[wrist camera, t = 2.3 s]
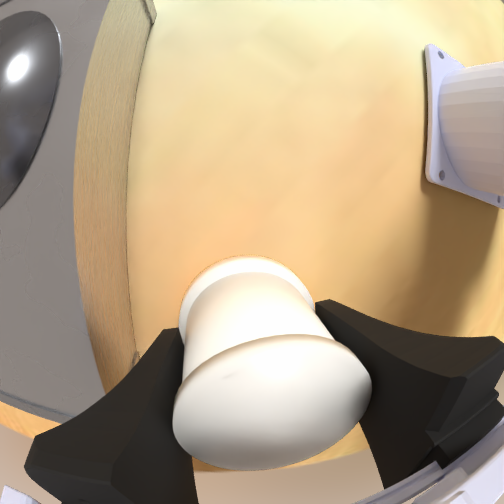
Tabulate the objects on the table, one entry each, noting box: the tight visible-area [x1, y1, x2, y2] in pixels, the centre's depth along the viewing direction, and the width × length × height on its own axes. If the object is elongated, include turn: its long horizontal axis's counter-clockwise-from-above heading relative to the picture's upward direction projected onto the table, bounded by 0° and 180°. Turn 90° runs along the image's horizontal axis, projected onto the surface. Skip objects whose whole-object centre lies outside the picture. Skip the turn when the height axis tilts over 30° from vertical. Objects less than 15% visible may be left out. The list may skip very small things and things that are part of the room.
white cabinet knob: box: [173, 255, 372, 471], centre depth 9 cm, size 6×6×6 cm
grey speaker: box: [0, 0, 157, 424], centre depth 6 cm, size 8×16×5 cm, turn 175°
